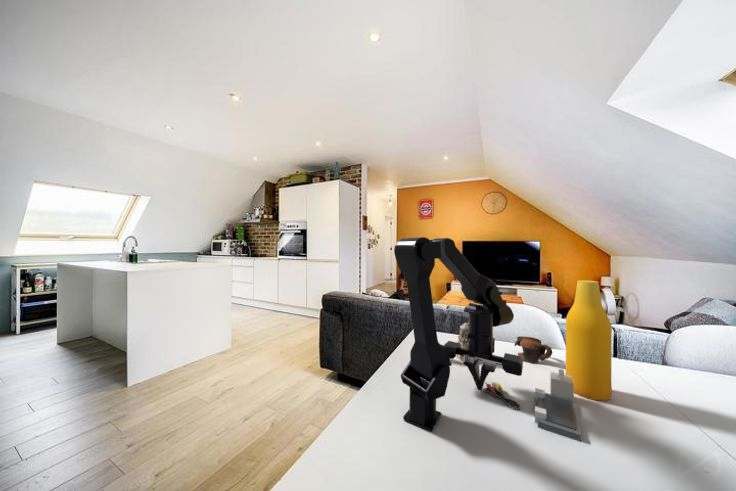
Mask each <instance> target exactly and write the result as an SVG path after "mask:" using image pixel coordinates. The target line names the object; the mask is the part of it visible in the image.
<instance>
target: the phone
mask: <svg viewBox="0 0 736 491" xmlns="http://www.w3.org/2000/svg"><path fill="white" fill-rule="evenodd" d="M534 391H535V392H534V402H536V403H537V406H536V405H535V406H534V422H535V423H536V424H537V428H540V429H543V430H545V431H548V432H551V433H554V434H557V435H561V436H564V437H567V438H569V439H572V440H574V441H575V440H576V441H579V442H582V433H581V429H580V426H579V424H580V423H579V421H578V417H577V413H576V409H575V404H573V400H571V399H567V398H563V397H559V396H556V395H552V394H550V393H547V392H546V390H545V389H541V388H538V387H535V388H534Z"/></svg>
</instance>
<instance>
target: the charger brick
mask: <svg viewBox="0 0 736 491" xmlns="http://www.w3.org/2000/svg"><path fill="white" fill-rule="evenodd" d="M549 379H550V381H549V386H550V387H549V388H550V389H549V392H550V393H549V394H552V395H556V396H559V397H563V398H567V399H571V400H573V404H574V400H575V399H574V394H575V393H574V383H573V380H572V376H568V375H566V374H565V370H564V369H559V368H558V372H555V371H550V373H549ZM574 405H575V404H574Z"/></svg>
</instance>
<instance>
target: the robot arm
mask: <svg viewBox="0 0 736 491" xmlns="http://www.w3.org/2000/svg"><path fill="white" fill-rule="evenodd" d="M393 252H394V257H395V261H396V264H397V267H398V269H399V271H400V272H401V273H402V275H403V277H404V278H405V280H406V287H407V294H408V300H409V308H410V309H409V310H410V315H411V322H412V323H411V324H412V330H413V337H414V342H413V345H412V347H411V350H410V354H409V355H410V357H409V358H410V360H409V361H408V363H407V365H406V366H405V367H404V369H403V371H402V373H401V374H400V379H401V383H403V384H404V385H406V386H407V387H409V406H408V407H409V409H408V410H407V411H406V412H405V414H404V415H403V418H402V419H403V421H405V422H408V423H410V424H413V425H416V426H417V427H420V428H421V429H424V430H427V431H430V432H433V431H434V429H435V427H436V425H437V423H438V422H439V421H440V419H441V417H442V412H441V411H438V410H437V399H439V398H442V397H444V396H445V395H446V391H447V387H448V384H449V380H450V376H451V375H450V374H451V367H452V362H451V360H454V359H455V358H456V354H457V355H461V356H464V362H463V361H462V363H463V364H462V365H463V366H465V367H467V369H468V371H469V373H470V374H471V376H472V379H473V381H474V383H475V386H476V388H477V391H482V390H483V387H484V384H485V382H486V380H487V378H488V375H489V374H490V373H495V371H496V369H497V366H499V365H500V366H501V368H502V370H503V371H504V372H505V373H507V374H509V375H514V376H518V377H522V375H523V368H524V360H523V359H522V358H521V356H518V354H517V355H516V354H513V353H512V354H511V353H507V352H505V353H504V355H503V356H501V355H500V356H499V355H496V354H494V353H495V343H496V338H495V337H493V335H494V331H493V330H494V328H496V327H499V326H504V325H508V324H510V323H512V322H513V321H514V317H515V316H514V313H513V310H512V308H511V307H510V306H509V305H508V304H507V300H506V299H503V298H502V295H501V293H500V291H499V288H498V286H497V284H496V282H494V281H493V280H491V279H490V278H489V277H486V276H484V275H482V274H480V273H479V272H478V271H477V270H476V269H475V267H473V265H472V264H471V263H470V262H469V260H468V259H467V258H466V257H465V256H464V255H463V253H462V252H461V251H460V250H459V248H458V247H457V246H456V242H455V240H453V239H452V238H449V237H441V238H440V237H438V238H433V239H429V237H428V238H427V237H425V236H421V237H419V236H418V237H402V238H401V239H399V240H398V241H397V242H396V244H395V245H394V249H393ZM437 259H438V260H439V261H440V262H441V263H442V265H443V266H444V267H445V268H446V269H447V270H448V271H449V272H450V273H451V274H452V275H453V277H454V279H456V280H457V281H458V282H459V284H460V286H461V287H460V290H461V292H462V293H463V295H464V296H465V298H466V300H468V301H469V303H468V305H467V306H466V307H464V308H463V312H464V313H468V323H469V331H468V336H467V341H469V349H464V348H462V345H461V343H458V341H457V342H456V341H451V340H448V341H447V342H446V343H444V344H440V342H439V340H438V334H437V333H438V332H437V325H436V319H435V311H434V303H433V295H432V288H431V280H430V277H431V274H432V272H433V270H434V267H435V265H436V264H435V263H436V260H437ZM470 301H471V302H470ZM472 302H473V303H472ZM480 361H482V363H483V364H482V365H481V366H480ZM480 367H481V368H480Z"/></svg>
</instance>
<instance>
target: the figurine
mask: <svg viewBox="0 0 736 491" xmlns="http://www.w3.org/2000/svg"><path fill="white" fill-rule="evenodd" d="M468 331H469V322H463V323H462V324H461V325H460V326H459V335H457V338H458V339H457V343H461V345H462V348H464V349H469V341H467V336H468ZM455 358H456V359H457V360H458V359H459V361H461V362H462V363H463V362H464V356H461V355H457V354H456V357H455Z"/></svg>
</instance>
